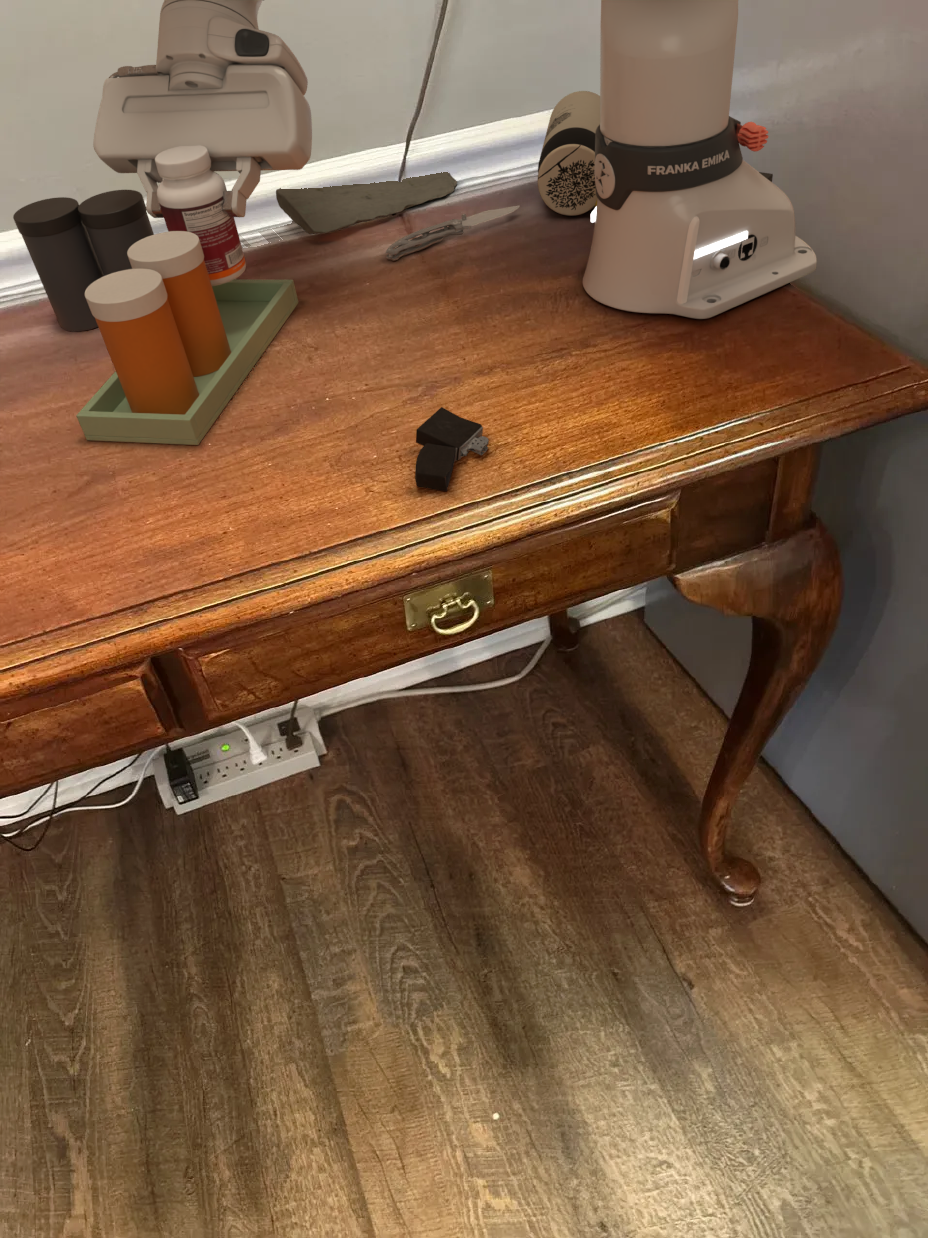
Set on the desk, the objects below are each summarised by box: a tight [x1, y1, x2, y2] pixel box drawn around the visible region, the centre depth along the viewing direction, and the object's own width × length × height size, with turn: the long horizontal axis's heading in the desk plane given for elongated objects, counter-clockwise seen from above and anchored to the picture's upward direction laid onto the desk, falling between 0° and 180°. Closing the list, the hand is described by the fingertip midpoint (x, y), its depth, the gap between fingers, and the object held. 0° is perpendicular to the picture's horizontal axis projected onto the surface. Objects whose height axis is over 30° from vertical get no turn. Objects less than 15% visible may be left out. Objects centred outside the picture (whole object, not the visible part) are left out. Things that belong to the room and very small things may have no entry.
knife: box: [385, 204, 521, 262], centre depth 105 cm, size 2×18×3 cm
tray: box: [75, 278, 300, 446], centre depth 88 cm, size 26×11×2 cm, turn 168°
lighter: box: [414, 406, 490, 493], centre depth 74 cm, size 8×2×5 cm
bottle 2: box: [85, 269, 199, 415], centre depth 80 cm, size 6×6×11 cm
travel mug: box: [537, 90, 600, 217], centre depth 109 cm, size 8×8×18 cm
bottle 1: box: [127, 231, 231, 377], centre depth 85 cm, size 6×6×11 cm
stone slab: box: [275, 171, 458, 235], centre depth 112 cm, size 22×3×10 cm
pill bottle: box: [155, 145, 247, 286], centre depth 87 cm, size 6×6×11 cm
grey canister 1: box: [12, 196, 104, 332], centre depth 95 cm, size 6×6×11 cm
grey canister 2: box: [78, 189, 154, 276], centre depth 95 cm, size 6×6×11 cm
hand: (195, 215), depth 86 cm, fingers closed on pill bottle, 6 cm apart
